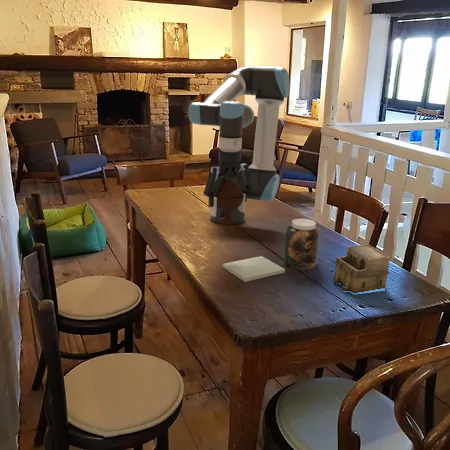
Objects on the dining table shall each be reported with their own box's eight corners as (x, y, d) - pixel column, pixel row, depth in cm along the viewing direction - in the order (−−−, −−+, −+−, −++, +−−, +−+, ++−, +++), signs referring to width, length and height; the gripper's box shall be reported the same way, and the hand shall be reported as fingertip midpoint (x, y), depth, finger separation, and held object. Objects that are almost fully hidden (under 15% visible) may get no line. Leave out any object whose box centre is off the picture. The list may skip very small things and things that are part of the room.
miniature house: (364, 273, 166) (368, 241, 162) (390, 291, 153) (396, 257, 150) (325, 278, 161) (328, 245, 157) (349, 296, 149) (353, 261, 145)
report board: (261, 259, 174) (261, 255, 173) (284, 272, 163) (284, 269, 163) (222, 267, 165) (222, 263, 165) (244, 281, 155) (245, 278, 155)
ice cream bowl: (220, 228, 164) (222, 184, 159) (206, 218, 173) (207, 176, 169) (248, 224, 169) (250, 182, 164) (232, 215, 178) (234, 174, 173)
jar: (276, 259, 175) (280, 218, 170) (305, 255, 179) (309, 215, 174) (294, 271, 164) (298, 229, 160) (323, 267, 169) (328, 226, 164)
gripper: (205, 154, 154) (203, 221, 161) (265, 149, 166) (261, 211, 173) (193, 150, 160) (192, 214, 167) (252, 145, 172) (248, 206, 179)
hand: (227, 213), depth 170 cm, fingers closed on ice cream bowl, 11 cm apart
